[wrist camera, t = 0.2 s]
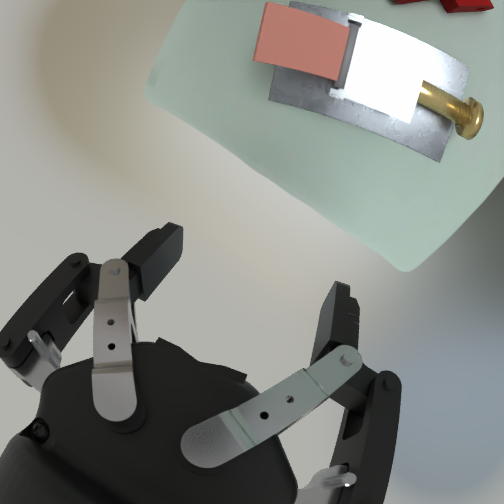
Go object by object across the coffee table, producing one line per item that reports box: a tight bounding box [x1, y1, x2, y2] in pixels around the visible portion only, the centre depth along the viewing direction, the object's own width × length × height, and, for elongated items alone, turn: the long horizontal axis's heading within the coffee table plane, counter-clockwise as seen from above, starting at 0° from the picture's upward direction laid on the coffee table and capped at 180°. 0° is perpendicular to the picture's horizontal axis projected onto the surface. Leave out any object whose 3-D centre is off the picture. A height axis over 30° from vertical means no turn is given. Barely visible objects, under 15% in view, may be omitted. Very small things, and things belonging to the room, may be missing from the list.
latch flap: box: [253, 2, 359, 89], centre depth 19 cm, size 7×9×1 cm
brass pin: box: [417, 80, 484, 140], centre depth 23 cm, size 6×14×6 cm, turn 79°
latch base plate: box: [268, 1, 469, 163], centre depth 23 cm, size 16×26×12 cm, turn 79°
